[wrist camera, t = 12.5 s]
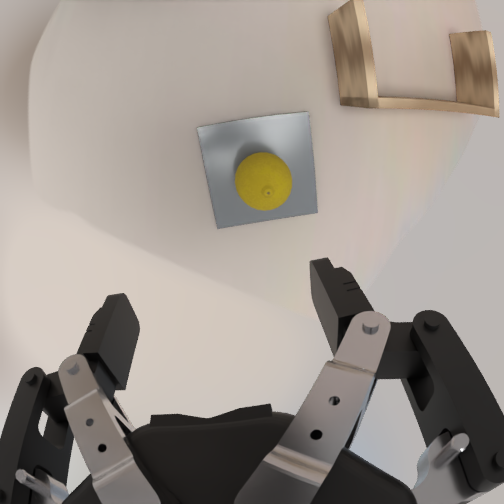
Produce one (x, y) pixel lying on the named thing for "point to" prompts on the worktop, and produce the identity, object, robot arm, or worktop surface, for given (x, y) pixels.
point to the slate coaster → (254, 141)
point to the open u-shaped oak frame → (366, 95)
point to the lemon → (263, 181)
